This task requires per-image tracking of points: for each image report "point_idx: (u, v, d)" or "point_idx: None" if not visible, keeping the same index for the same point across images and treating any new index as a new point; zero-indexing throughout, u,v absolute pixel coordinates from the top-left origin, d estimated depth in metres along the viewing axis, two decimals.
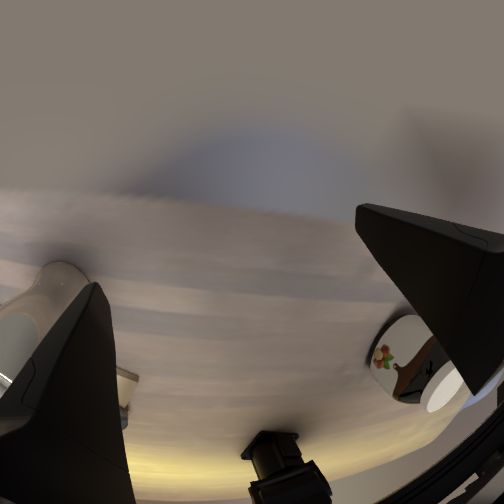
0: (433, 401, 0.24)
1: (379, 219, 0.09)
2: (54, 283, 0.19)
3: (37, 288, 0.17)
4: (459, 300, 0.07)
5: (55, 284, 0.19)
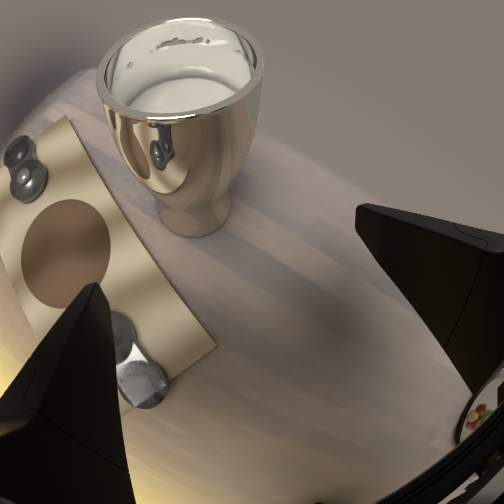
0: None
1: (379, 219, 0.09)
2: None
3: None
4: (459, 300, 0.07)
5: None
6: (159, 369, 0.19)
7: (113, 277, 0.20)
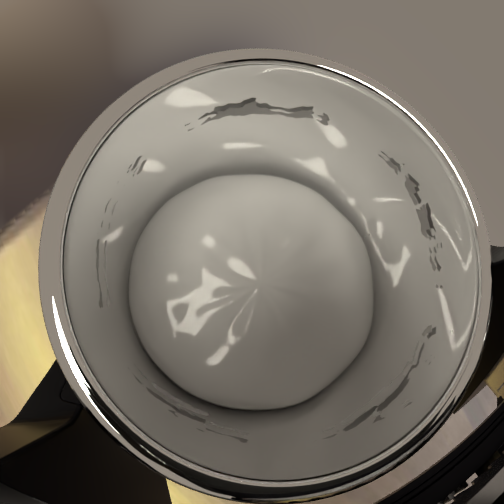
0: None
1: None
2: None
3: None
4: None
5: None
6: None
7: None
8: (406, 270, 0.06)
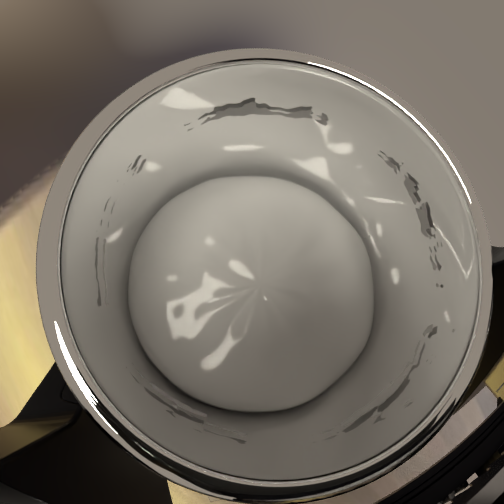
0: None
1: None
2: None
3: None
4: None
5: None
6: None
7: None
8: (406, 270, 0.06)
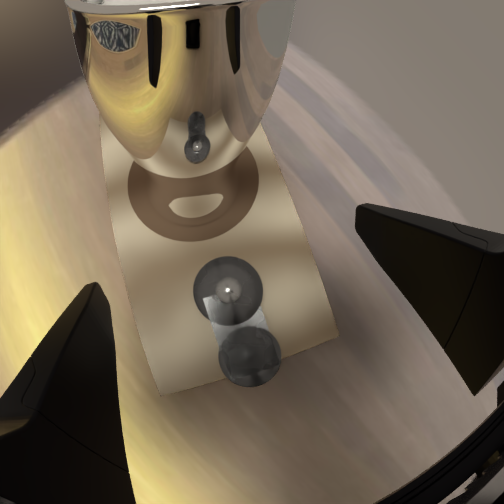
0: None
1: (379, 219, 0.09)
2: None
3: None
4: (459, 300, 0.07)
5: None
6: None
7: (251, 226, 0.19)
8: None
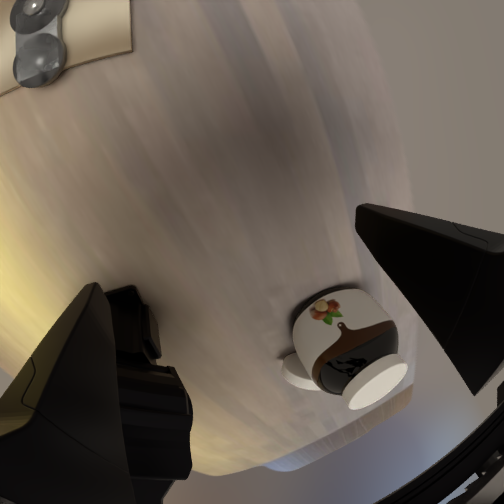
0: (367, 388, 0.23)
1: (379, 219, 0.09)
2: None
3: None
4: (459, 300, 0.07)
5: None
6: (62, 49, 0.11)
7: None
8: None
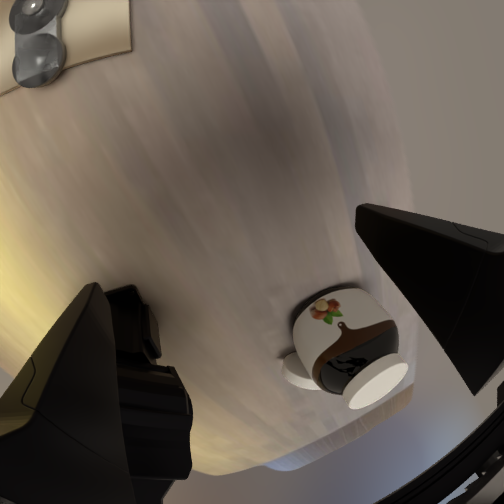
0: (367, 388, 0.23)
1: (379, 219, 0.09)
2: None
3: None
4: (459, 300, 0.07)
5: None
6: (62, 48, 0.11)
7: None
8: None
